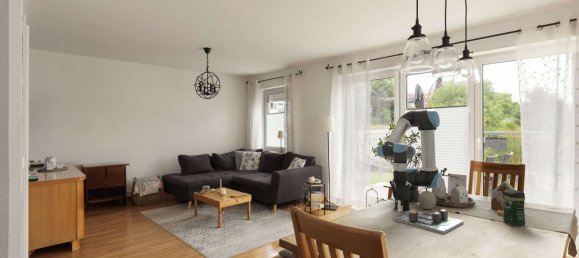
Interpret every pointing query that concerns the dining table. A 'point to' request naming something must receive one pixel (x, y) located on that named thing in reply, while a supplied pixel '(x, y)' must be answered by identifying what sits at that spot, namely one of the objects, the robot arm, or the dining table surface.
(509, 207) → the coffee jar
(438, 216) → the breaker middle
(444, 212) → the breaker back
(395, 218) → the panel
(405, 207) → the french press
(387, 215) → the dining table surface
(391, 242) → the dining table surface
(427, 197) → the fruit
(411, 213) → the orange and grey switch
